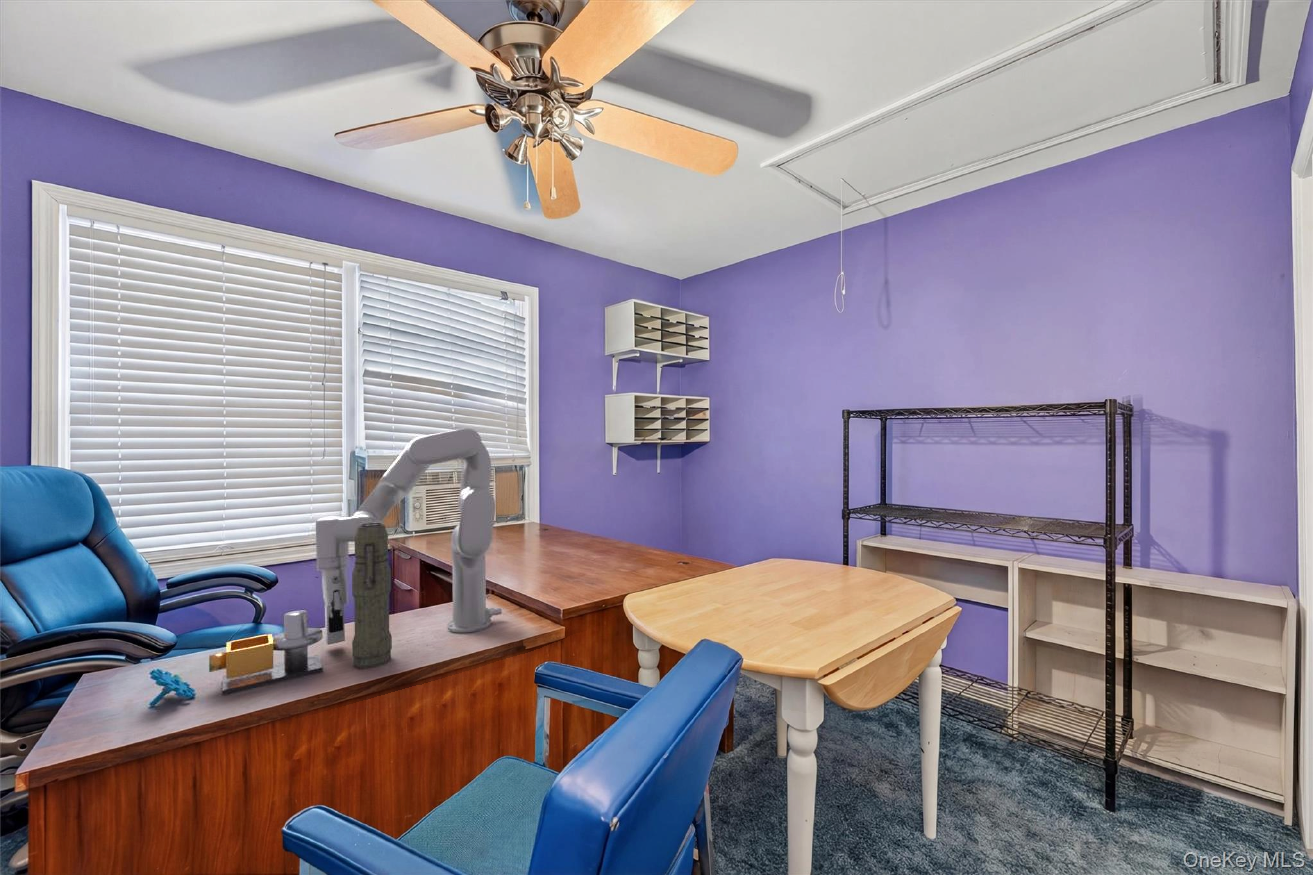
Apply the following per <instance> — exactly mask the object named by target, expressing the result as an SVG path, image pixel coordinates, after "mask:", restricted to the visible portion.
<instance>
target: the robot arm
mask: <svg viewBox="0 0 1313 875" xmlns="http://www.w3.org/2000/svg"><path fill="white" fill-rule="evenodd" d="M457 460H460V462H461V469H462V470H461V479H460V485H459V486H460V488H459V493H458V498H457V507H458V510H459V512H460V517H459V518H460V519H459V524H457V525H456V526H455V527H454V529H453V531H452V533H451V537H450V545H451V562H452V563H451V565H452V620H451V621H450V622H448V623H447V626H446V628H447V630H448V631H449V632H453V633H465V634H466V633H473V632H477V631H478V632H479V631H481V630H484V629H487V628H488V627H490V626H491V625H492V617H493V616H500V615H502V612H503V610H502V608H501V607H499V608H494V607H492V608H488V607H487V598H486V597H487V596H486V593H487V592H486V591H487V590H486V583H487V582H486V577H487V576H486V574H487V573H486V572H487V571H486V570H487V568H486V554H487V552H488V551H489V549H490V547H491V544H492V538H493V531H494V525H495V524H494V522H495V515H496V499H495V497H494V496H493V494H492V493H491V492H490V490H491V489H490V487H491V477H492V476H491V474H492V460H491V456H490V453H489V451H488V449H487V448H486V446H485V444H484V443H483V441H482V438H481V436H480V433H478V432H477V431H476V430H474V429H472V428H469V427H463V428H457V429H453V430H449V431H444V432H439V433H433V434H428V435H427V434H426V435H420V436H416V437H414V438H413V439H411V440H410V441H409V442H408V443H407V444H406V446H405V447H404V449H403V450H402V451H401V453H400V454H398V457H397V458H396V459H395V460H394V461H393V463H392V464H391V465H390V466H389V468H388V469H387V470H386V472H384V474H383V475H382V477H381V478H380V479H379V480H378V482H377V485H376V486H375V487H374V488H373V490H372V491H371V493H370V494H368V496H367V498H366V499H365V500H364V501H363V503H362V504H361V505H360V507H359V508H358V509H357V510H356V511H355V513H354V514H353V515H352V516H348V517H347V516H344V515H343V516H342V515H331V516H324V517H320V518H318V519H317V520H316V522H315V549H316V551H315V552H316V570H317V571H319V572H320V571H321V588H322V595H323V596H322V597H323V602H324V605H325V604H326V605H327V606H328V607H329V608H330V618H329V632H330V633H334V632H338V631H342V630H343V615H342V602H343V604H344V605H347V604H348V603H349V597H348V596H349V595H348V578H347V570H346V568H348V567H349V566H350V559H349V558H350V556H349V555H350V550H349V548H350V547H349V545H350V544H349V543H351V542H352V543H355V534H356V531H357V528H358V527H359V526H361V525H362V524H368V523H381V524H382V523H383V522H384V520H385V518H386V517H388V515H389V513H390V512H391V511H392V510H393V509H394V507H395V506H396V505H397V504H398V503H399V502H400V501H401V500H404V499H405V498H406V497H407V496H408V495H409V494H410V493H411V491H412V490H413V489H414V487H415V486H416V485H417V483H419V481H420V479H421V478H422V477H423V476H424V474H425V473H426V471H428V469H429V467H430V466H432V465H437V464H442V463H446V462H451V461H457ZM333 603H334V605H333V606H331V604H333ZM332 608H334V609H333V610H332Z"/></svg>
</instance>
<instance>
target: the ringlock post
mask: <svg viewBox="0 0 1313 875" xmlns="http://www.w3.org/2000/svg"><path fill="white" fill-rule="evenodd" d="M308 615H309V614H308V611H307V610H301V609H300V610H294V611H289V612H286V613H284V615H283V632H281V633H278V634H275V635H273V634H272V633H270V634H262V635H257V636H253V637H252V636H251V637H246V638H241V639H236V640H231V641H228V642H227V641H226V649H225V650H226V651H225V652H221V653H216V654H211V655H208V656H209V658H208V659H209V663H208V667H209V668H208V669H209V671H208V672H209V673H211V672H216V671H217V672H218V671H222V670H225V674H224V675H222V688H221V690H222V691H221V692H222V693H221V695H222V696H225V695H230V694H233V693H238V692H242V691H246V690H250V689H254V688H258V687H263V686H267V685H271V684H277V683H280V682H284V681H288V680H292V679H296V678H300V677H304V676H305V677H306V676H308V675H309V674H310V675H314V674H319V673H322V672H323V671H324V670H323V669H324V668H323V665H322V662H321V660H320V658H319V655H318V654H317V655H316V654H315V655H311V656H309V650H308V649H309V648H308V647H310V646H311V645H314V644H316V643H318V642H320V641H321V640H322V639H323V630H322V629H321V628H319V627H318V628H315V627H308V626H309V625H308V624H309V622H308V619H309V618H308ZM274 651H278V652H279V651H280V652H282V651H284V652H283V654H284V655H283V660H284V661H283V662H280V663H274Z"/></svg>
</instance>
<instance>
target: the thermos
mask: <svg viewBox="0 0 1313 875" xmlns="http://www.w3.org/2000/svg"><path fill="white" fill-rule="evenodd" d="M388 553H389V534H388V531H387V528H386V525H385V524H382V523H368V524H362V525H361V526H359V527H358V528H357V531H356V534H355V542H354V557H355V561H354V567H353V570H352V574H351V586H352V587H351V588H352V590H351V593H352V597H353V600H354V602H353V604H354V636H353V639H352V646H351V647H352V648H351V652H352V657H353V661H352V667H354V668H356V669H371V668H376V667H379V666H383V665H385V664H387V663H389V662H391V660H392V645H393V641H392V640H393V638H392V636H393V635H392V633H391V630H390V593H391V591H392V569H391V567H390V564H389V558H388ZM388 661H389V662H388Z"/></svg>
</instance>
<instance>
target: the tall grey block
mask: <svg viewBox="0 0 1313 875" xmlns="http://www.w3.org/2000/svg"><path fill="white" fill-rule="evenodd" d="M333 605H334V603H333V604H331V606H333ZM333 609H334V608H332V610H333ZM342 615H343V630H342V631H338V632H334V633H330V632H329V618H330V608H329V607H328V606H327V605H326V604H325V603H324V623H325V624H324V627H325V628H324V629H325V630H324V631H325V642H326V644H327V646H329V645H333V644H338V643H342V642H346V636H345V634H346V633H345V632H346V630H345V628H346V627H345V603H343V602H342Z"/></svg>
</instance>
